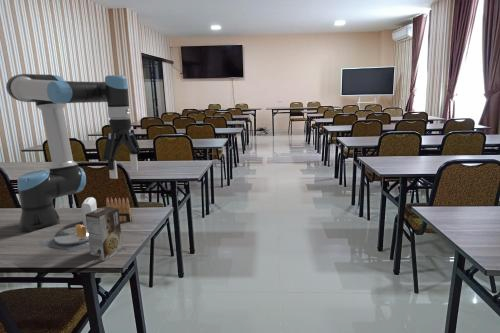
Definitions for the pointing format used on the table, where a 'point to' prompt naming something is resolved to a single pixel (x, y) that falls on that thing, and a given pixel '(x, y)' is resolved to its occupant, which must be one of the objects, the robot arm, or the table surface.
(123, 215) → the ammunition clip
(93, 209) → the photo printer
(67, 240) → the dial
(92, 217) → the coffee box
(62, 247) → the panel
